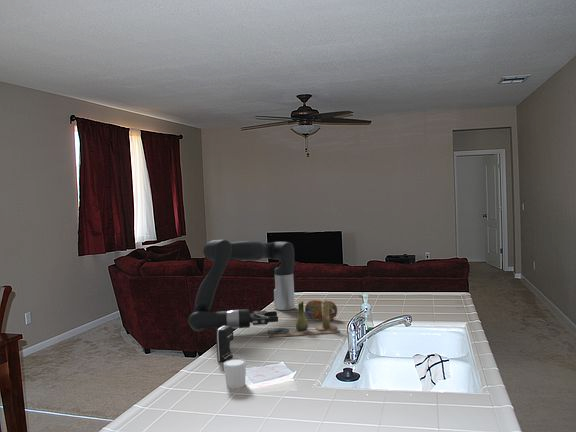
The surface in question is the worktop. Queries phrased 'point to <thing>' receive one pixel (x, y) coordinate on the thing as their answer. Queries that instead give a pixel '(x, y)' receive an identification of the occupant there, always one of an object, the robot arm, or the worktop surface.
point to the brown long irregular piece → (321, 329)
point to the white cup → (235, 373)
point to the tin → (319, 310)
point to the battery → (224, 342)
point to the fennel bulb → (301, 318)
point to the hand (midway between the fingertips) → (277, 316)
